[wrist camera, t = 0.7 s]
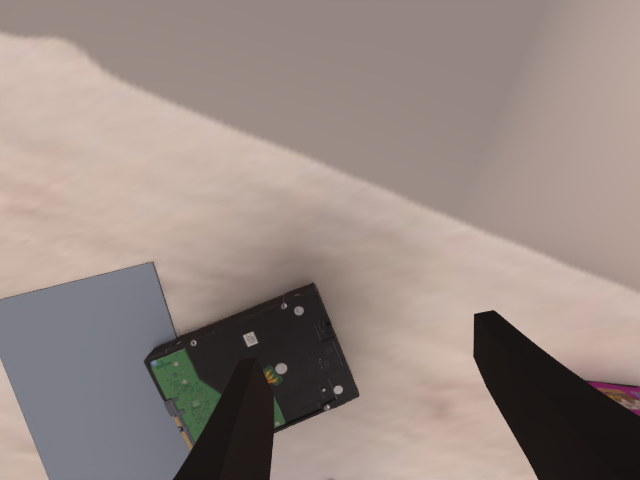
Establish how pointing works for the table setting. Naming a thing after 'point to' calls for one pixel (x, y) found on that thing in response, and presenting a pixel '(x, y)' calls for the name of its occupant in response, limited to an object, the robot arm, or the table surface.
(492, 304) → the table surface
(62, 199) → the table surface
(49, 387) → the mat
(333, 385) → the disk drive
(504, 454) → the table surface
